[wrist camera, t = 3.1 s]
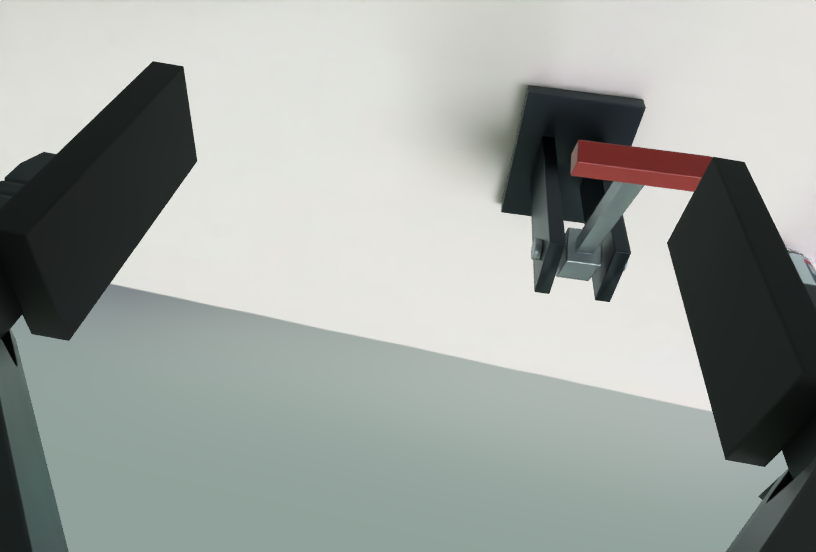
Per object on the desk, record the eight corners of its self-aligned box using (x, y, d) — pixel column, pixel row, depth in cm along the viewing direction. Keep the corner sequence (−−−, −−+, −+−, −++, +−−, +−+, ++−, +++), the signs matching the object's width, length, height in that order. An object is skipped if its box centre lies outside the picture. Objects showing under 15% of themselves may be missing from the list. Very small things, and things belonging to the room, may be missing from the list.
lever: (578, 129, 30) (576, 171, 29) (712, 146, 30) (714, 189, 29) (526, 240, 42) (523, 272, 41) (621, 253, 42) (620, 286, 41)
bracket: (528, 85, 45) (532, 194, 35) (643, 99, 45) (680, 214, 35) (501, 204, 53) (499, 321, 43) (600, 217, 53) (620, 338, 43)
